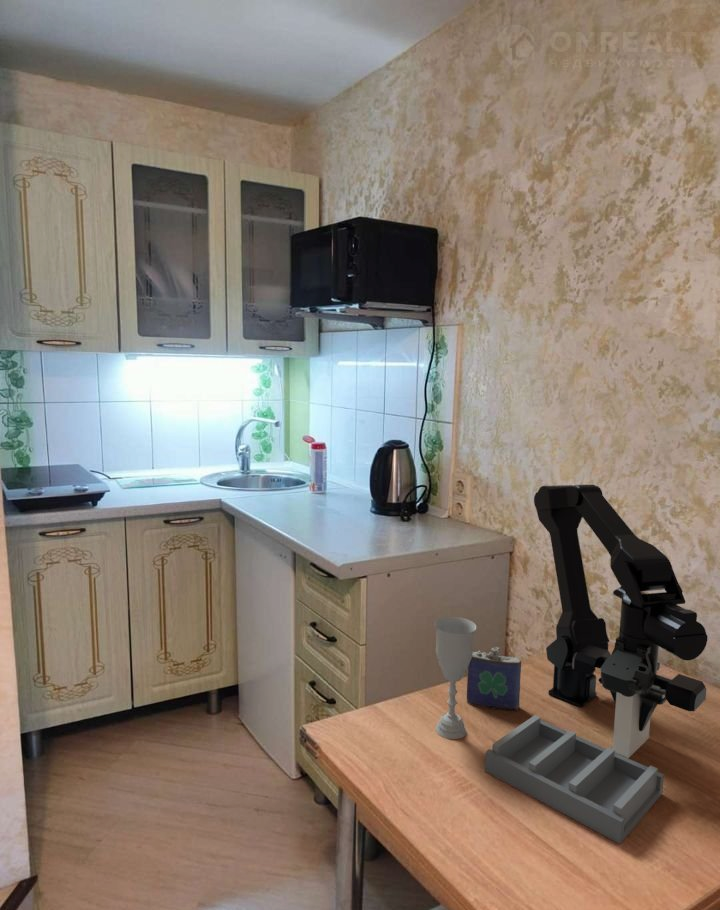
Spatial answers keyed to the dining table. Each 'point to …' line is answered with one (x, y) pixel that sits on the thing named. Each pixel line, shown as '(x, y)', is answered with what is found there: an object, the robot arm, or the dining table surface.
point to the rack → (576, 777)
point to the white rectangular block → (628, 724)
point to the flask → (494, 681)
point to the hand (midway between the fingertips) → (632, 726)
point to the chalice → (453, 666)
